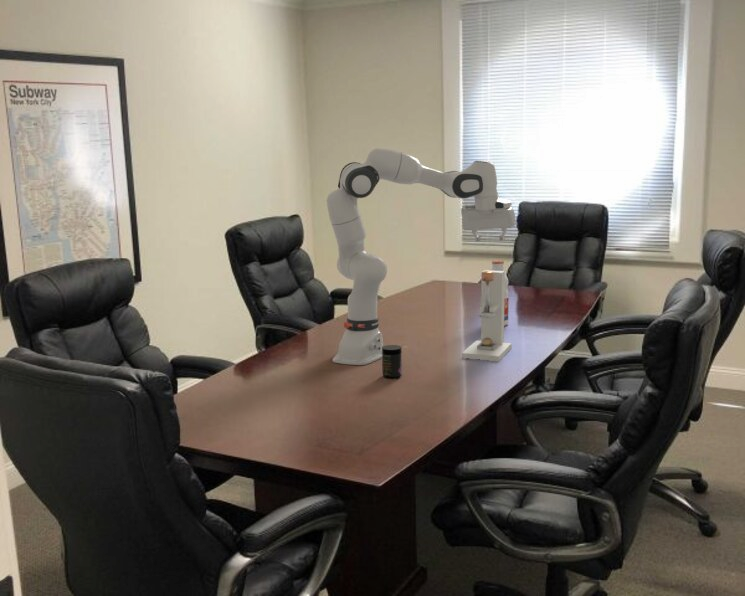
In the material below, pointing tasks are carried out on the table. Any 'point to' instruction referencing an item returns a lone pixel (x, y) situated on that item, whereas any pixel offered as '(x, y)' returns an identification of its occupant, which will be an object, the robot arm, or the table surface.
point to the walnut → (487, 342)
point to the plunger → (487, 294)
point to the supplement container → (391, 361)
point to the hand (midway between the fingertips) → (490, 240)
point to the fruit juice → (499, 267)
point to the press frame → (491, 323)
